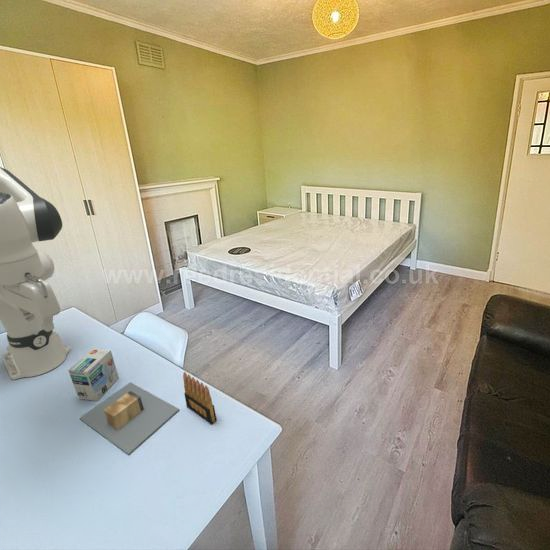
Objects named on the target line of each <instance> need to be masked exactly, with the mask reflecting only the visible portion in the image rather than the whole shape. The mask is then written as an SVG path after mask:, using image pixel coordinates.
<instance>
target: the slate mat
mask: <svg viewBox="0 0 550 550" xmlns="http://www.w3.org/2000/svg"><path fill="white" fill-rule="evenodd" d="M129 391H131V392H133V393H135V394H137V395H138V396H140V397H141V400H142V404H143V408H144V409H143V410H142V411H141V412H140V413H138V414H137V415H136V416H135V417H133V418H132V419H131V420H130V421H128V422H127V423H126V424H124V425H123V426H122V427H121V428H119V429H116V428H115V427H113V426H112V425H111V424H109V423H108V421H107V418H106V416H105V413H104V409H106V408H107V407H108V406H110V405H111V404H113V403H114V402H115V401H117V400H118V399H120V398H121V397H122V396H124V395H125V394H127V393H128V392H129ZM179 411H180V408H178V407H176V406H175V405H172V404H170V403H169V402H168V401H165V400H163V399H162V398H160V397H158V396H156V395H155V394H152V393H150V392H149V391H147V390H146V389H144V388H142V387H140V386H138V385H136V384H135V383H132V382H131V381H130V382H129V383H128V384H126V385H124V386H123V387H121V388H120V389H118V390H117V391H116V392H115V393H112V395H110V396H108V397H107V398H106V399H104V400H102V401H101V402H100V403H98V404H97V405H95V406H94V407H93V408H92V409H90V410H89V411H87V412H85V413H84V414H83V415H81V416H80V417H79V420H80V421H82V422H83V423H84V424H86V425H87V426H88V427H90V428H91V429H93V430H94V431H95V432H96V433H97V434H99V435H101V436H102V438H104V439H106V440H108V441H109V442H110V443H111V444H113V445H114V446H116V447H117V448H118V449H120V450H121V451H122V452H123V453H125V454H127V455H128V456H130V455H131V454H132V453H134V451H136V450H137V449H138V448H139V447H140V446H141V445H143V444H144V443H145V442H146V440H148V439H149V438H150V437H151V436H153V435H154V433H156V432H157V431H158V430H160V429H161V428H162V427H163V426H164V425H165V424H166V423H167V422H168V421H170V420H171V418H172V417H174V416H175V415H177V414H178V412H179Z"/></svg>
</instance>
